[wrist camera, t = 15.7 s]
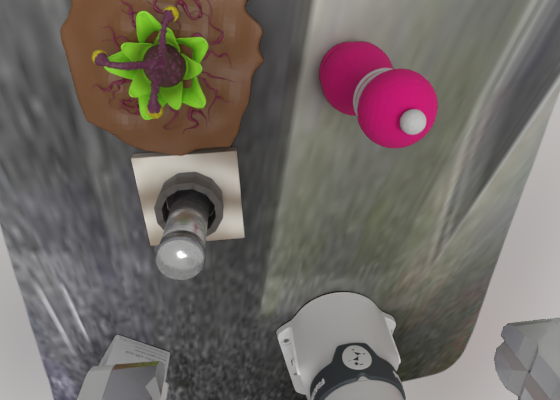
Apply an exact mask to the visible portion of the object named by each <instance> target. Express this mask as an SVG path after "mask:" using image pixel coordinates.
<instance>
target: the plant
mask: <svg viewBox="0 0 560 400" xmlns="http://www.w3.org/2000/svg"><path fill="white" fill-rule="evenodd" d="M246 3H247V0H71V10H70V13H69V16H68V18H67V20H66V21H65V23H64V24H63V25H62V27H61V39H62V43H63V46H64V49H65V52H66V56H67V60H68V63H69V67H70V71H71V75H72V78H73V82H74V86H75V89H76V93H77V97H78V100H79V103H80V106H81V108H82V110H83V113H84V115H85V118H86V119H87V121H88V122H90V123H92V124H94V125H96V126H98V127H100V128H102V129H104V130H106V131H108V132H110V133H111V134H113V135H115V136H116V137H118V138H119V139H120V140H122V141H123V142H125V143H127V144H129V145H131V146H134V147H136V148H139V149H142V150H146V151H152V152H159V153H165V154H171V155H178V156H183V155H185V154H188V153H190V152H192V151H194V150H196V149H201V148H214V147H230V146H231V145H232V143H233V141H234V139H235V138H236V136H237V134H238V132H239V129H240V122H241V118H242V115H243V113H244V111H245V110H246V108H247V106H248V103H249V98H250V90H251V83H252V77H253V74H254V72H255V70H256V69H257V68H258V67H259V66H260V65H261V64H262V63H263V61H264V58H263V56H262V54H261V53H260V50H259V43H260V40H261V37H262V33H263V31H262V28H261V26H260V25H259V23H258V22H257V21H256V20H255V19H253V18H252V17H251V16H250V15H249V14H248V13H247V11H246V9H245V5H246Z"/></svg>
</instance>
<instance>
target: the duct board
mask: <svg viewBox="0 0 560 400" xmlns="http://www.w3.org/2000/svg"><path fill="white" fill-rule="evenodd" d="M131 161H132V166H133V170H134V174H135V179H136V183H137V188H138V192H139V196H140V201H141V205H142V210H143V214H144V219H145V223H146V227H147V232H148V236H149V241H150V245H151V246H153V245H159V243H160V241H161V239H162V236H163V233H164V229H165V226H166V222H167V219H168V215H169V212H170V208H171V205H172V201H173V198H174V195H175V193H176V192H177V191H178V190H189V189H193V190H196V191H198V192H201V193H203V194H206V195H207V197H208V198H209V199H210V208H209V217H208V225H207V234H206V241H212V240H223V239H235V238H244V224H243V213H242V202H241V191H240V180H239V169H238V158H237V147H224V148H210V149H196V150H194V151H192V152H190V153H188V154H185V155H183V156H178V155H171V154H165V153H159V152H151V153H137V154H133V156H132V158H131Z"/></svg>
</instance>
